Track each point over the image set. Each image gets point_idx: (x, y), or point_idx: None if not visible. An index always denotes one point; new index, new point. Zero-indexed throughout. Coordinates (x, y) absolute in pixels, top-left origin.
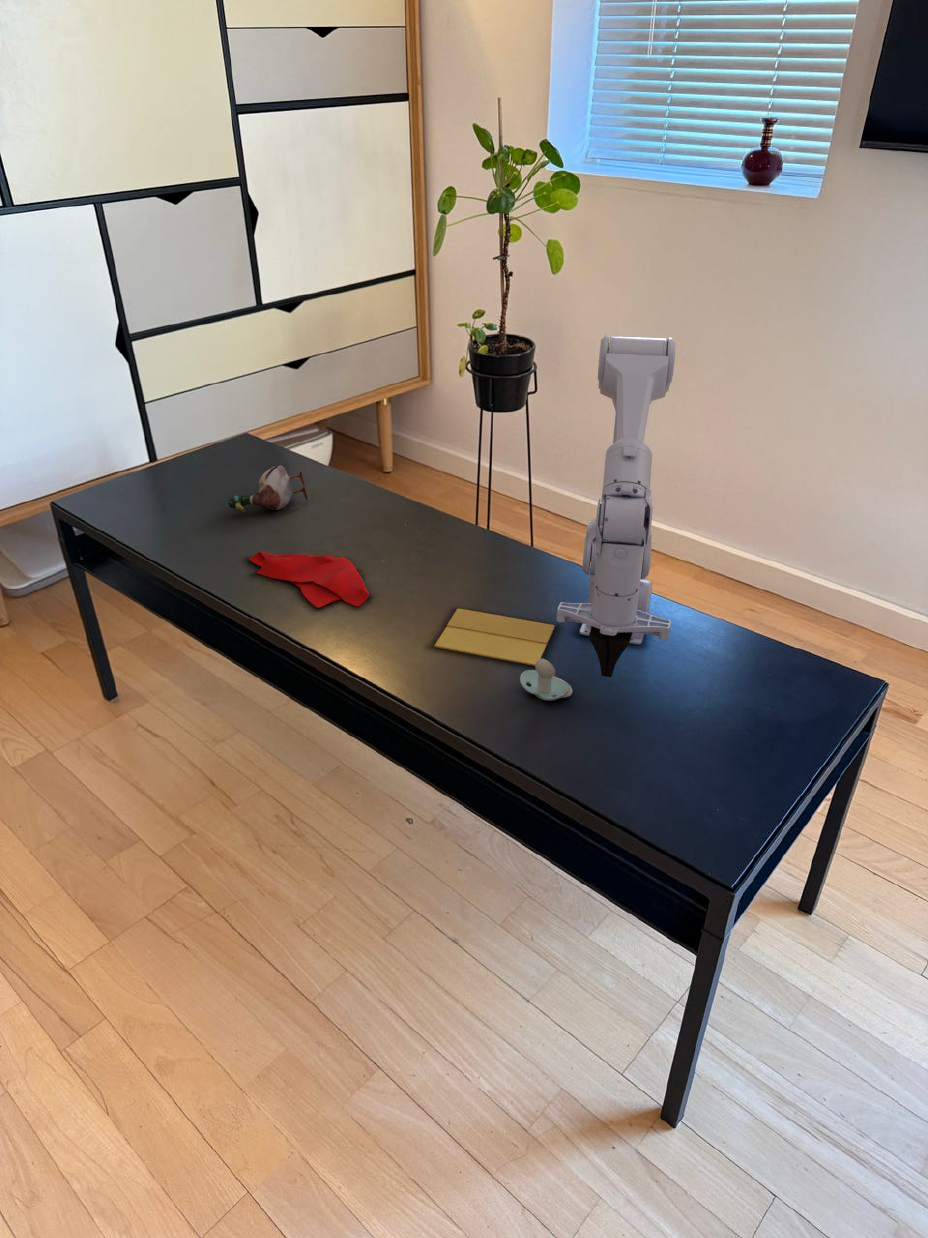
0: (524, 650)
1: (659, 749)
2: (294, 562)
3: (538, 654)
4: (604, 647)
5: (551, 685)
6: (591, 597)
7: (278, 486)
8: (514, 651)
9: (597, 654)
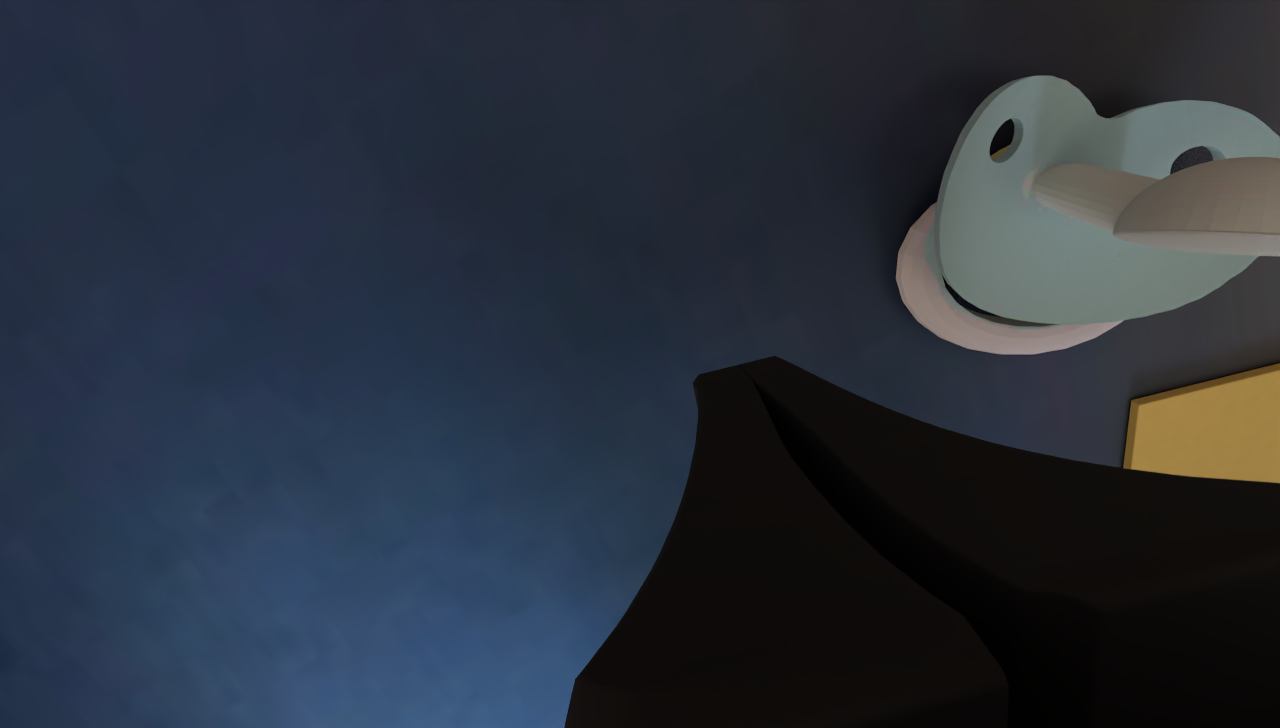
0: (1222, 472)
1: (145, 47)
2: None
3: None
4: (954, 519)
5: (1041, 253)
6: None
7: None
8: (1273, 439)
9: (955, 433)
